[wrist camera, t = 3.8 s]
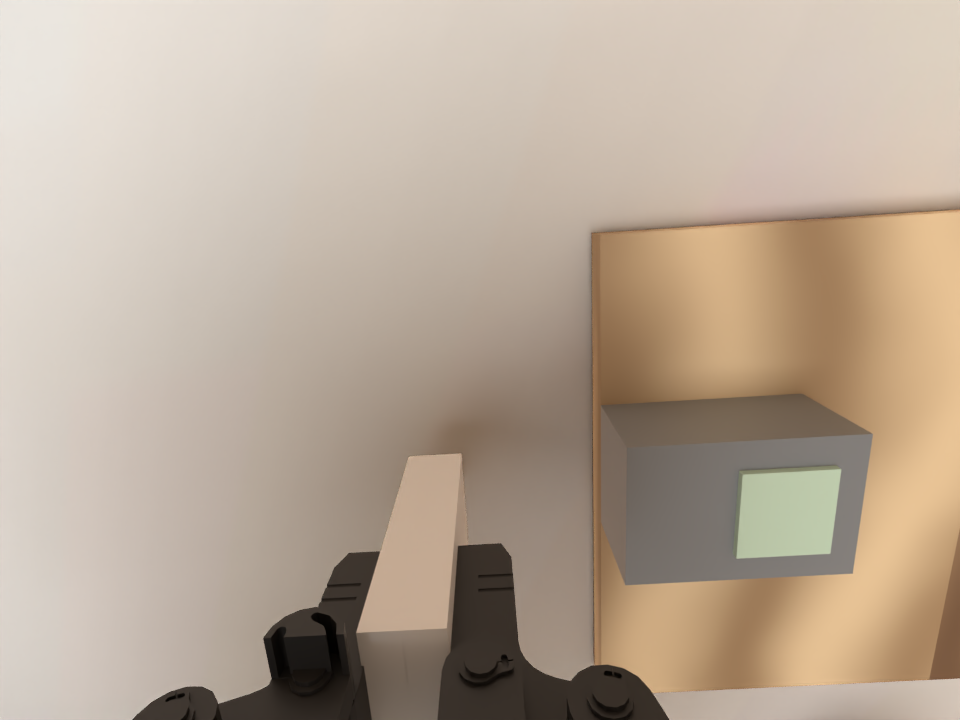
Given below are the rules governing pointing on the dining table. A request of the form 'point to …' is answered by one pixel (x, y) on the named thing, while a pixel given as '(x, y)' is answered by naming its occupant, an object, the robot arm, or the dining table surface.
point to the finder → (731, 488)
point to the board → (827, 380)
